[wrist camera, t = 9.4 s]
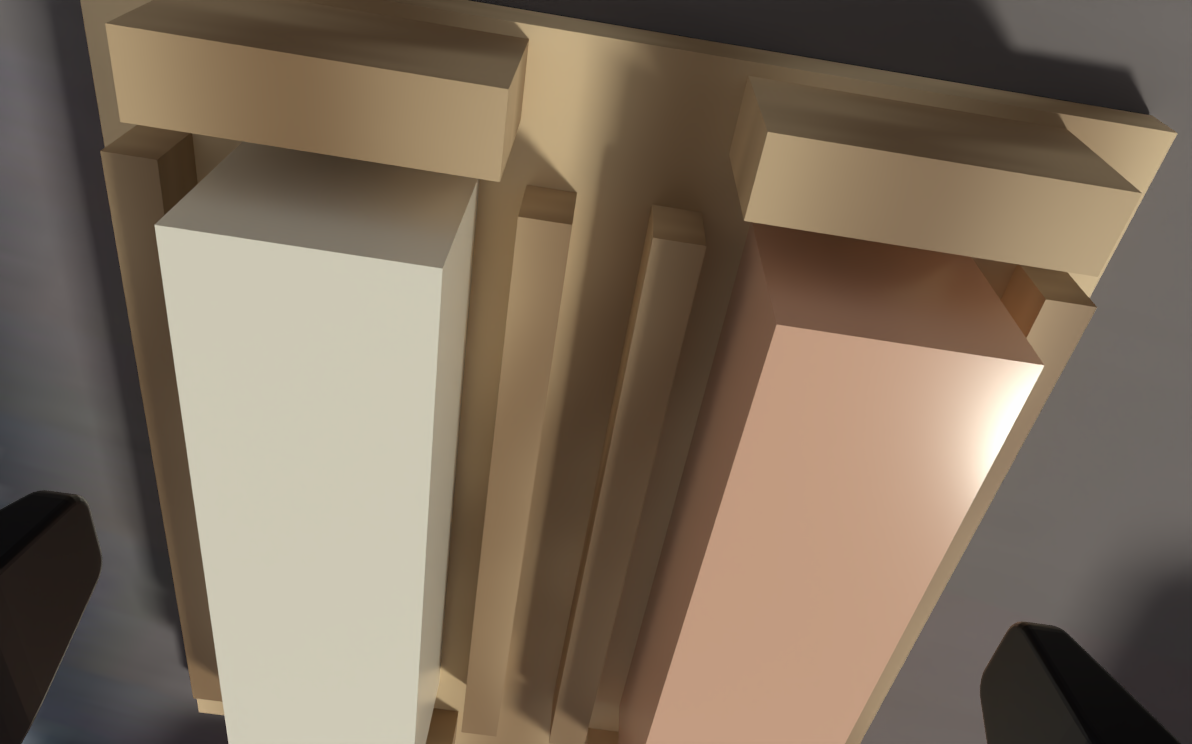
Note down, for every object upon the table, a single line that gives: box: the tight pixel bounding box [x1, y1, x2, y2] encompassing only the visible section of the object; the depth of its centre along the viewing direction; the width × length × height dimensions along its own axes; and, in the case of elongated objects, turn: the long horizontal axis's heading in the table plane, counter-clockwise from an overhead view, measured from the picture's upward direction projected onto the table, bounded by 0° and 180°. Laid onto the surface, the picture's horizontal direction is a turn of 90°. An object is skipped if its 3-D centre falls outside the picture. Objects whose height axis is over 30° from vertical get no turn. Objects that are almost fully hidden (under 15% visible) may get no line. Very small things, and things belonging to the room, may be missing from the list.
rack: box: [80, 0, 1177, 744], centre depth 21 cm, size 20×22×4 cm
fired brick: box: [618, 222, 1044, 744], centre depth 21 cm, size 4×16×4 cm, turn 171°
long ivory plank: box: [154, 141, 480, 744], centre depth 20 cm, size 4×16×4 cm, turn 171°
